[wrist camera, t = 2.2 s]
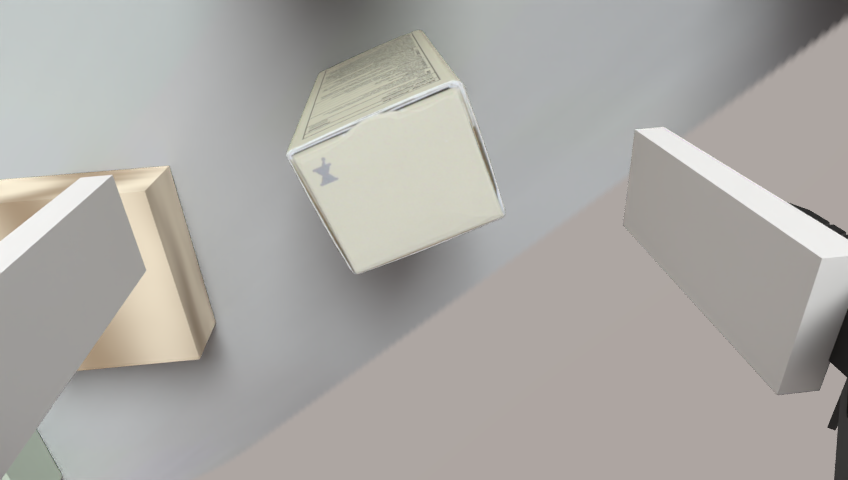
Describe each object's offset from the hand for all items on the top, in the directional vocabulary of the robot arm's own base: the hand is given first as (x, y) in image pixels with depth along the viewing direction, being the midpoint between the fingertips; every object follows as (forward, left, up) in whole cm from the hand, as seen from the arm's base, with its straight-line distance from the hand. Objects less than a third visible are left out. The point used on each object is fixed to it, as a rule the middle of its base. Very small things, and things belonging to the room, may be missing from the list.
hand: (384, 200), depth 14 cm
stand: (+15, +7, -12) cm, 20 cm away
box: (0, 0, -12) cm, 12 cm away
